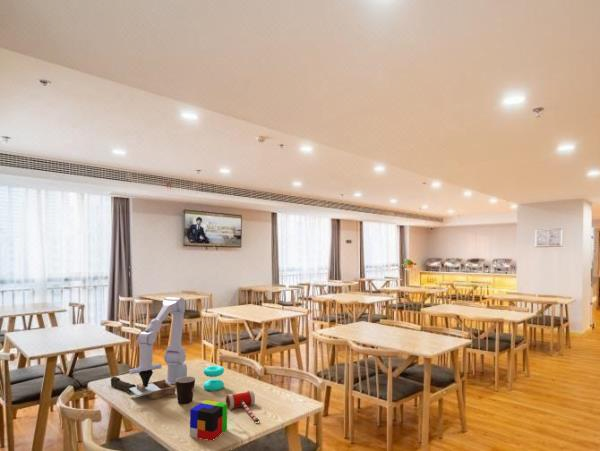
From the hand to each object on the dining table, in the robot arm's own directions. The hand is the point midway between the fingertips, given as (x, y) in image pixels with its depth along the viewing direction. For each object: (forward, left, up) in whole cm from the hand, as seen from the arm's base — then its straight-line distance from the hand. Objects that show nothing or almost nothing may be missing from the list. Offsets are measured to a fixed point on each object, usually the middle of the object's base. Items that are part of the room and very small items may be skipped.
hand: (145, 386), depth 190 cm
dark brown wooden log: (+5, -18, -5) cm, 20 cm away
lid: (0, 0, -2) cm, 2 cm away
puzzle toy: (-6, +52, -5) cm, 53 cm away
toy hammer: (-28, +44, -5) cm, 52 cm away
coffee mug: (-11, +18, -5) cm, 21 cm away
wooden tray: (-7, 0, -5) cm, 8 cm away
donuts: (-31, +10, -5) cm, 33 cm away
